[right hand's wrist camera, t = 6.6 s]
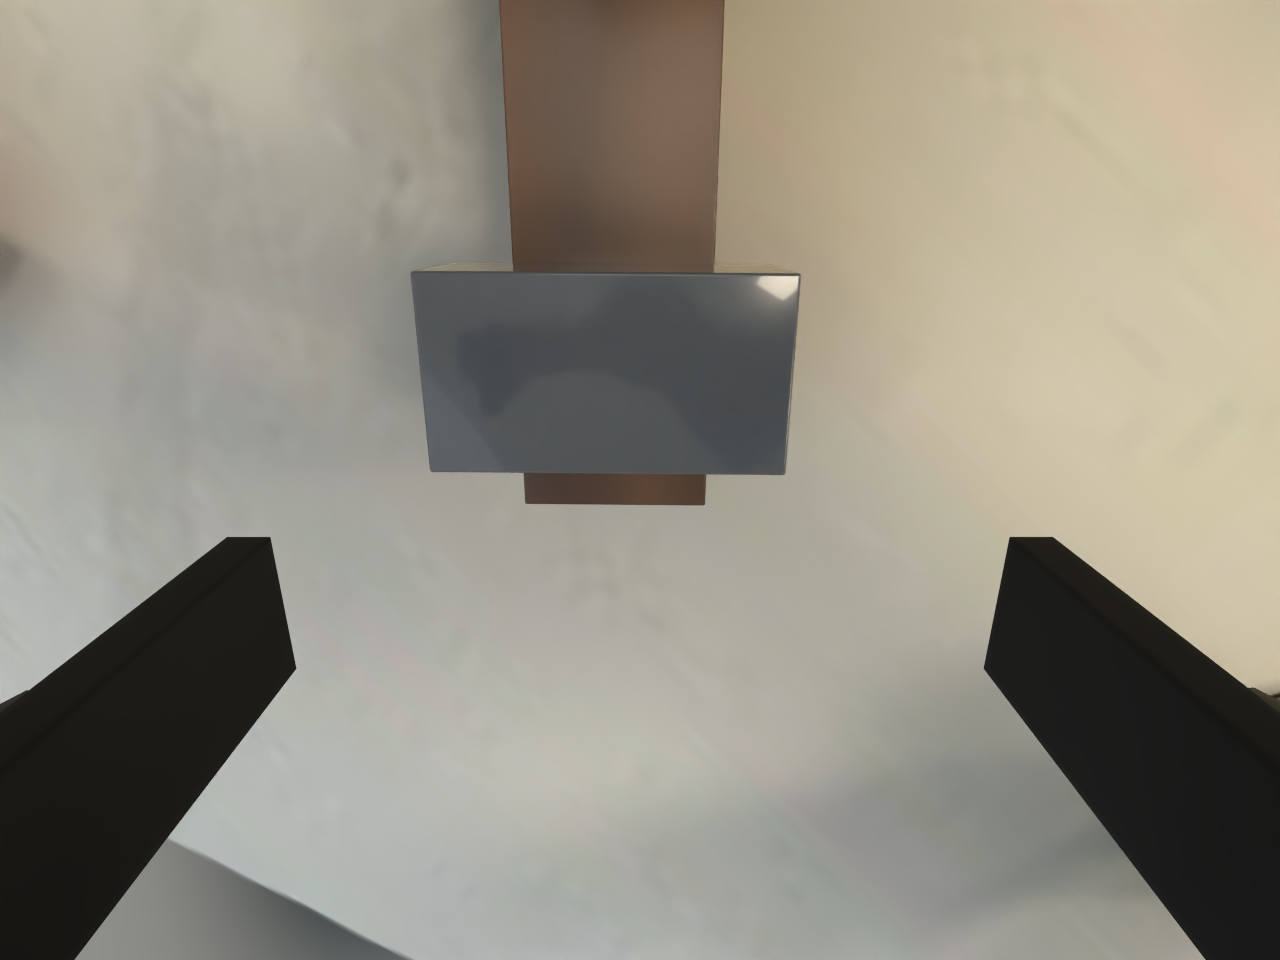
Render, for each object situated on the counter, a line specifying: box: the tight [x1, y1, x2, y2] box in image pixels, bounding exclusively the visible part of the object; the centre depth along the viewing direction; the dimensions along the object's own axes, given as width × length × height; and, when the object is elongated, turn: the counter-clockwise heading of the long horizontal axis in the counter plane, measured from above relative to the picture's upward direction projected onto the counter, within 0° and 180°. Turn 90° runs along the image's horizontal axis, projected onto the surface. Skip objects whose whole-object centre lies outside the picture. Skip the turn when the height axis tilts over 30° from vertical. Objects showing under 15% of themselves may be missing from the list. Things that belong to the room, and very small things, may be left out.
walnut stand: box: [499, 0, 725, 505], centre depth 27 cm, size 7×32×9 cm, turn 0°
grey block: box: [411, 263, 801, 475], centre depth 23 cm, size 11×6×5 cm, turn 90°
